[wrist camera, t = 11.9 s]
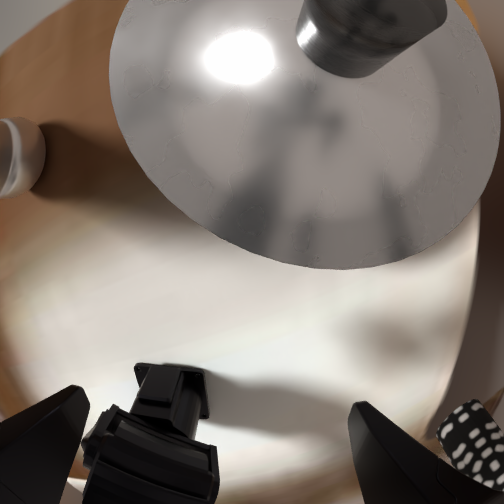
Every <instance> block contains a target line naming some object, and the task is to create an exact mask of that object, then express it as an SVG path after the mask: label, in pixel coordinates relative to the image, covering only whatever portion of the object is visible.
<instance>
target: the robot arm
mask: <svg viewBox="0 0 504 504" xmlns="http://www.w3.org/2000/svg"><path fill="white" fill-rule="evenodd" d="M139 368H140V369H139ZM134 371H135V375H136V378H137V382H138V385H139V388H140V389H139V391H138V393H137V397H136V399H135V401H134V403H133V405H132V407H131V410H130V412H129V413H128V412H126V411H124V410H122V409H120V408H119V407H118V406H116V405H114V404H113V405H112V406H111V408H110V409H109V410H108V409H107V410H106V412H102V413H101V415H100V417H99V419H98V421H97V422H96V424H95V426H94V427H93V428H92V429H91V430H90V431H89V432H88V433H87V434H86V436H85V437H84V438H83V439H82V435H83V432H84V428H85V424H86V421H87V417H88V414H89V410H90V402H89V400H88V398H87V396H86V394H85V391H84V389H83V388H82V387H80V386H77V385H70V386H68V387H66V388H64V389H63V390H61V391H59V392H57V393H55V394H53V395H52V396H50V397H48V398H46V399H44V400H42V401H40V402H38V403H37V404H35V405H33V406H31V407H29V408H27V409H25V410H23V411H21V412H19V413H18V414H16V415H14V416H12V417H10V418H8V419H6V420H4V421H2V423H1V422H0V504H59V503H60V500H61V496H62V493H63V490H64V487H65V484H66V481H67V478H68V475H69V472H70V469H71V467H72V464H73V461H74V458H75V456H76V453H77V450H78V448H79V445H80V442H81V446H82V448H83V451H84V455H83V457H84V460H83V467H85V468H86V469H88V470H90V473H89V476H88V479H87V482H86V485H85V488H84V491H83V501H82V504H214V503H215V501H216V498H217V495H218V491H219V485H220V476H219V466H218V456H217V446H214V445H207V444H204V443H201V442H198V441H195V435H196V430H197V425H198V420H199V419H208V418H209V415H210V412H209V405H208V398H207V390H206V382H205V374H204V372H203V371H202V370H201V369H192V368H180V367H169V366H159V365H151V364H143V363H137V364H136V365H135V366H134ZM197 374H200V375H197ZM348 429H349V436H350V442H351V449H352V456H353V462H354V466H355V470H356V473H357V477H358V480H359V484H360V488H361V491H362V495H363V499H364V503H365V504H504V491H499V490H495V489H493V488H491V487H489V486H486V485H484V484H482V483H480V482H478V481H476V480H474V479H472V478H471V477H469V476H467V475H465V474H463V473H462V472H460V471H458V470H457V469H455V468H454V467H452V466H451V465H449V464H448V463H446V462H445V461H443V460H442V459H441V458H438V456H436V455H435V454H434V453H432V452H431V451H430V450H428V449H427V448H426V447H424V446H423V445H422V444H420V443H419V442H418V441H417V440H415V439H414V438H413V437H411V436H410V435H409V434H407V433H406V432H405V431H404V430H402V429H401V428H400V427H398V426H397V425H396V424H395V423H393V422H392V421H391V420H390V419H388V418H387V417H386V416H385V415H383V414H382V413H381V412H380V411H378V410H377V409H376V408H375V407H373V406H372V405H371V404H370V403H368V402H367V401H360V402H355V403H354V404H353V405H352V408H351V411H350V414H349V417H348ZM81 439H82V441H81Z"/></svg>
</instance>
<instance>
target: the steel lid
mask: <svg viewBox="0 0 504 504" xmlns="http://www.w3.org/2000/svg"><path fill="white" fill-rule="evenodd" d="M109 81H110V91H111V100H112V104H113V108H114V111H115V115H116V118H117V122H118V125H119V128H120V130H121V132H122V134H123V136H124V138H125V141H126V143H127V145H128V147H129V149H130V151H131V153H132V154H133V156H134V157H135V159H136V160H137V162H138V163H139V165H140V166H141V168H142V169H143V171H144V172H145V174H146V175H147V177H148V178H149V179H150V180H151V181H152V182H153V183H154V184H155V185H156V187H157V188H158V189H159V190H160V191H161V192H162V193H163V194H164V195H165V196H166V198H167V199H168V200H169V201H171V202H172V203H173V204H174V205H175V206H177V207H178V208H179V209H180V210H181V211H183V212H184V213H185V214H186V215H187V216H188V217H190V218H191V219H192V220H193V221H195V222H196V223H198V224H200V225H201V226H203V227H204V228H206V229H207V230H209V231H211V232H212V233H214V234H215V235H217V236H218V237H220V238H222V239H224V240H226V241H228V242H230V243H232V244H234V245H237V246H239V247H241V248H243V249H245V250H247V251H249V252H251V253H255V254H258V255H261V256H264V257H267V258H270V259H273V260H276V261H279V262H282V263H288V264H293V265H298V266H304V267H309V268H317V269H337V270H347V269H358V268H369V267H375V266H379V265H383V264H388V263H392V262H396V261H399V260H402V259H404V258H406V257H409V256H411V255H414V254H416V253H419V252H421V251H423V250H424V249H426V248H428V247H429V246H431V245H433V244H434V243H436V242H438V241H439V240H441V239H442V238H443V237H445V236H446V235H447V234H448V233H449V232H451V231H452V230H453V229H454V228H455V227H456V226H458V225H459V223H460V222H461V221H462V220H463V219H464V218H465V217H466V216H467V214H468V213H469V212H470V211H471V210H472V208H473V207H474V205H475V204H476V202H477V201H478V199H479V197H480V196H481V194H482V193H483V191H484V189H485V186H486V184H487V182H488V180H489V178H490V175H491V173H492V170H493V166H494V163H495V159H496V155H497V151H498V145H499V137H500V104H499V95H498V89H497V85H496V80H495V76H494V73H493V69H492V66H491V63H490V60H489V58H488V55H487V53H486V50H485V48H484V46H483V44H482V42H481V40H480V38H479V36H478V34H477V32H476V30H475V29H474V27H473V25H472V24H471V22H470V20H469V19H468V17H467V16H466V14H465V13H464V12H463V10H462V9H461V8H460V6H459V5H458V4H457V3H456V1H455V0H129V2H128V4H127V5H126V7H125V9H124V11H123V13H122V16H121V18H120V20H119V23H118V25H117V28H116V31H115V35H114V39H113V43H112V47H111V52H110V65H109Z"/></svg>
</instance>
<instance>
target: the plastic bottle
mask: <svg viewBox="0 0 504 504" xmlns="http://www.w3.org/2000/svg"><path fill="white" fill-rule="evenodd" d="M45 156H46V145H45V140H44V136H43V134H42V132H41V130H40V128H39V127H38V126H37V124H36V123H34V122H32V121H30V120H28V119H25V118H22V117H13V118H5V119H0V198H14V197H17V196H19V195H21V194H23V193H25V192H27V191H28V190H30V189H31V188H32V187H33V185H34V184H35V182H36V181H37V180H38V178H39V176H40V174H41V172H42V170H43V167H44V163H45Z"/></svg>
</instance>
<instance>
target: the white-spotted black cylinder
mask: <svg viewBox="0 0 504 504" xmlns="http://www.w3.org/2000/svg"><path fill="white" fill-rule="evenodd" d="M436 436H437V438H438V440H439V442H440V443H441V445H442V447H443V449H444V450H445V452H446V454H447V456H448V458H449V460H450V462H451V463H452V465H453V467H454V468H455V469H457V470H458V471H460V472H462V473H463V474H465V475H467V476H469V477H471V478H472V479H474V480H476V481H478V482H480V483H482V484H484V485H486V486H489V487H491V488H493V489H495V490H499V491H504V433H503V432H502V431H501V429H500V428H499V426H498V425H497V424H496V423H495V421H494V420H493V418H492V417H491V416H490V414H489V413H488V412H487V410H486V409H485V408H484V407H483V405H482V404H481V403H480V401H479V400H477V399H473V400H471V401H468V402H466V403H465V404H463V405H461V406H460V407H459V408H458V409H456V410H455V411H454V412H452V413H451V414H450V415H449V416H448V417H447V418H446V419H445V420H444V421H443V423H442V424H441V425H440V427H439V428H438V430H437V433H436Z"/></svg>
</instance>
